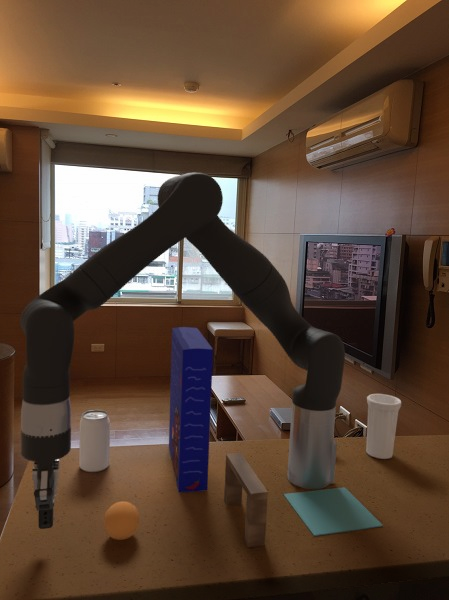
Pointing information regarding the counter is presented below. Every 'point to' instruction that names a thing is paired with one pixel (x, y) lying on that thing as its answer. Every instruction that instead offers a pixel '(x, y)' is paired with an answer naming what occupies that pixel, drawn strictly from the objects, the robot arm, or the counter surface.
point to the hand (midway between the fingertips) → (46, 525)
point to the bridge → (257, 497)
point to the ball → (121, 520)
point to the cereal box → (190, 408)
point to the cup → (381, 424)
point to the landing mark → (331, 511)
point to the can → (94, 441)
